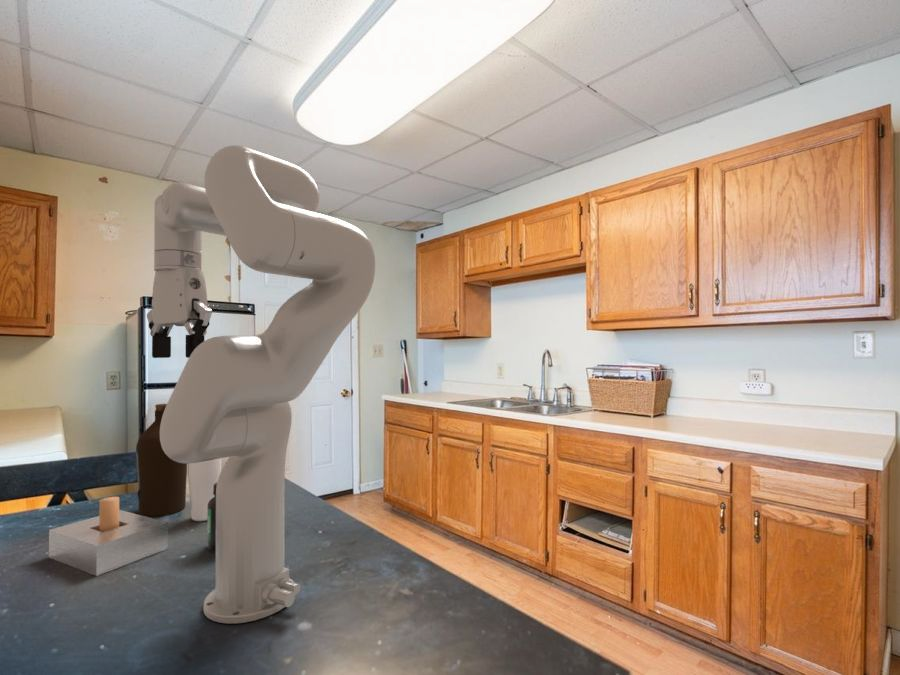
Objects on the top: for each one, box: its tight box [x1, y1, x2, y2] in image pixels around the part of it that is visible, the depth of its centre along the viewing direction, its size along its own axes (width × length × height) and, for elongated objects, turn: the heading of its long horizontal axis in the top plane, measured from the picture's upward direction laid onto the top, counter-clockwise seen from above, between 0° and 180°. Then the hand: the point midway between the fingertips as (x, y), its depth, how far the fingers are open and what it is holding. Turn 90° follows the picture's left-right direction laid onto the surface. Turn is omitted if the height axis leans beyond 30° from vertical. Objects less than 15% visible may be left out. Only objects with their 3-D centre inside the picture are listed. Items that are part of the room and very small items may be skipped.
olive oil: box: [135, 403, 188, 518], centre depth 112 cm, size 11×11×25 cm
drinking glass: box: [187, 458, 223, 522], centre depth 106 cm, size 7×7×15 cm
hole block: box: [48, 509, 169, 577], centre depth 88 cm, size 16×12×5 cm
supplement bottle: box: [206, 483, 217, 553], centre depth 91 cm, size 7×7×12 cm
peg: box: [98, 496, 120, 532], centre depth 88 cm, size 3×3×10 cm
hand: (177, 357), depth 86 cm, fingers open, 9 cm apart
